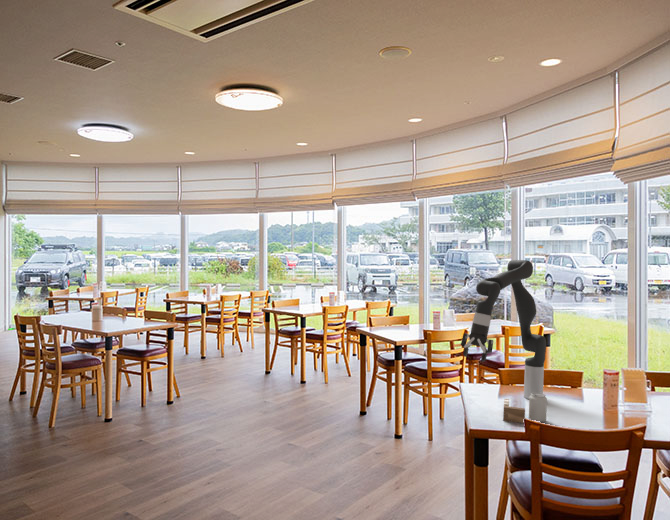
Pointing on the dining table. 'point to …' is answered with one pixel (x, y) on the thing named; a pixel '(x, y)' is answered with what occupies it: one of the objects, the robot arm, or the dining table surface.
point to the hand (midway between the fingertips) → (473, 358)
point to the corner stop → (513, 413)
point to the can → (537, 407)
